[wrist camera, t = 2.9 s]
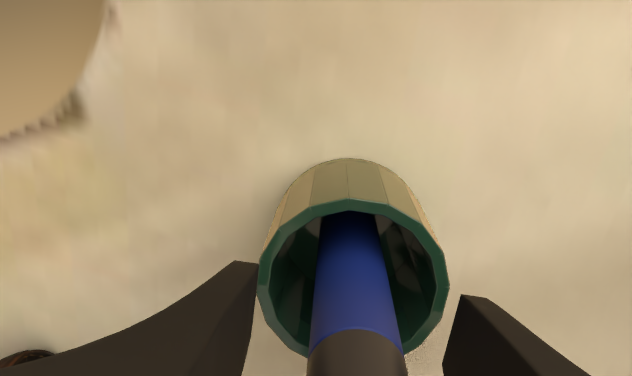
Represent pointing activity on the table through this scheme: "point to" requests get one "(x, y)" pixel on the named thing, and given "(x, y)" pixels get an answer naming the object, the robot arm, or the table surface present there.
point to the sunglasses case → (24, 357)
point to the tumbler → (396, 241)
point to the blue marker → (353, 303)
